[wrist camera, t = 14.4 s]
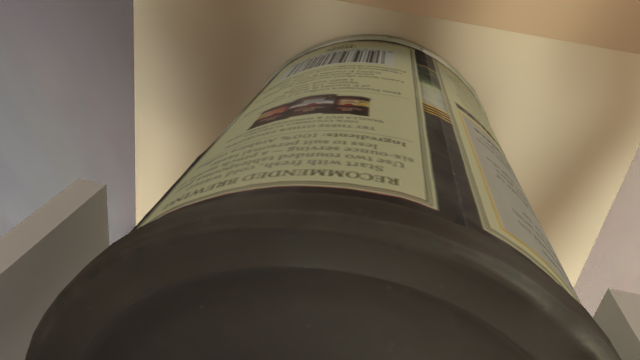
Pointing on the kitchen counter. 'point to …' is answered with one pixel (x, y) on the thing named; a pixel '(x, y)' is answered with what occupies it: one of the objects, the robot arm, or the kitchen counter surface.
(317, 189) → the coffee can
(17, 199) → the kitchen counter surface
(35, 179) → the kitchen counter surface
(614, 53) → the cradle
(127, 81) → the kitchen counter surface
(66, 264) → the robot arm
